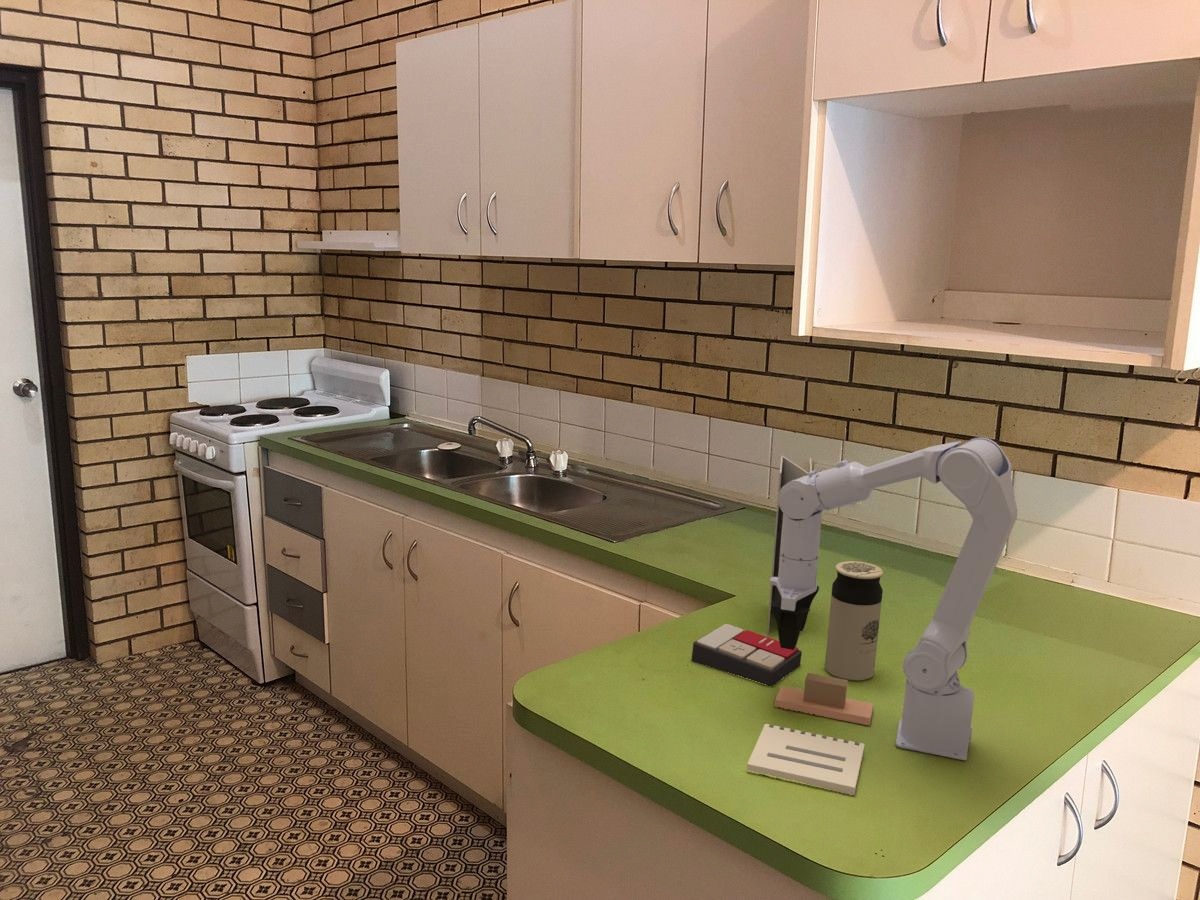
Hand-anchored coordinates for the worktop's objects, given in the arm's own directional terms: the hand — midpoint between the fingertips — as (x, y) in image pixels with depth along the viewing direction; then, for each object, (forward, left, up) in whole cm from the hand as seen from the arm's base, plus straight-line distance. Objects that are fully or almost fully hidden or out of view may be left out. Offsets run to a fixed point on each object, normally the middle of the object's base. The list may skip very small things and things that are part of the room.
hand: (791, 638), depth 151 cm
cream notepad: (-6, +19, -9) cm, 22 cm away
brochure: (+6, -30, -10) cm, 32 cm away
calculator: (+8, -9, -10) cm, 16 cm away
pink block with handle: (-6, +3, -9) cm, 11 cm away
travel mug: (-8, -13, -10) cm, 18 cm away
